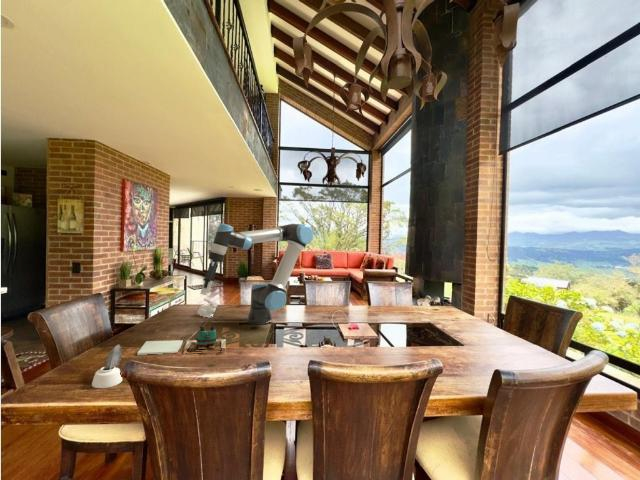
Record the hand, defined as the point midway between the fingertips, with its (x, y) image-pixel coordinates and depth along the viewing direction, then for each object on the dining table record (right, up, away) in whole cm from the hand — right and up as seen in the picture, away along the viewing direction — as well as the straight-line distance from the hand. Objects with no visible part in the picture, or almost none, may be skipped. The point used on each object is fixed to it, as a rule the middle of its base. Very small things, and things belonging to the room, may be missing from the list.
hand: (204, 293), depth 167 cm
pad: (-14, -22, -17) cm, 31 cm away
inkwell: (-18, -23, -47) cm, 55 cm away
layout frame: (+5, -23, -12) cm, 26 cm away
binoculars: (+5, -23, -12) cm, 27 cm away
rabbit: (-12, -21, +40) cm, 47 cm away
